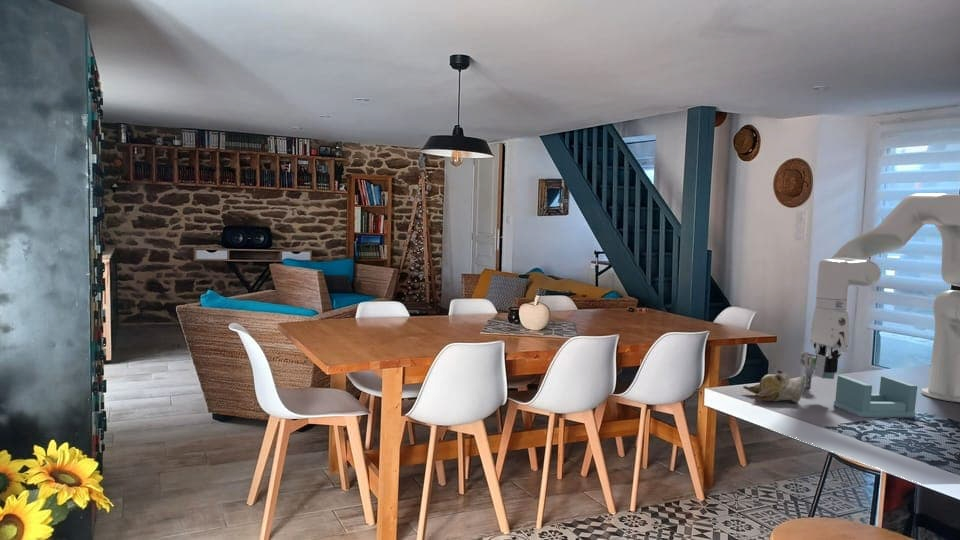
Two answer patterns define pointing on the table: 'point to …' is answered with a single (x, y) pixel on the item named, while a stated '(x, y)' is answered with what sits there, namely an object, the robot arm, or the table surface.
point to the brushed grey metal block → (822, 367)
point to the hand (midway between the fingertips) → (826, 369)
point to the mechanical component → (808, 366)
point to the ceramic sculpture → (778, 387)
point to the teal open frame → (876, 397)
